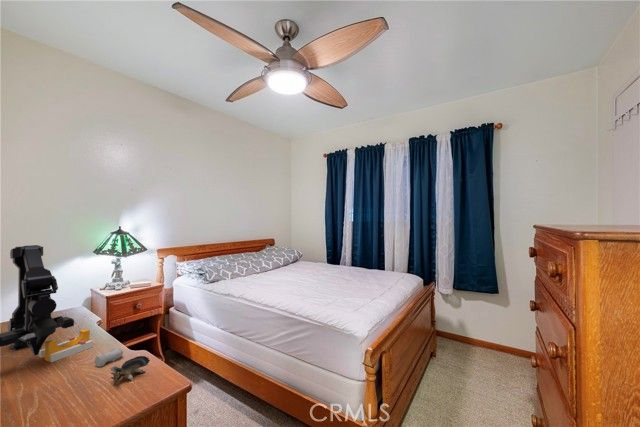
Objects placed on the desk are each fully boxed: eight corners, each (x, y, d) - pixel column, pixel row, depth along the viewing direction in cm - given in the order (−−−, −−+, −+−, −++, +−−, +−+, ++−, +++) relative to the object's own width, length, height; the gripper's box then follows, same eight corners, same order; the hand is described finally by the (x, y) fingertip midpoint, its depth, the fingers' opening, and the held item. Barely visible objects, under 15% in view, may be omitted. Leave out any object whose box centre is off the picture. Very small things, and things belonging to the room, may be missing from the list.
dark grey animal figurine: (124, 387, 76) (154, 366, 84) (112, 365, 77) (143, 346, 85) (114, 393, 80) (144, 372, 88) (103, 372, 80) (134, 354, 88)
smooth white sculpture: (117, 358, 96) (125, 357, 94) (91, 369, 89) (99, 368, 87) (116, 346, 97) (124, 345, 95) (90, 356, 90) (98, 354, 88)
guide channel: (38, 356, 95) (39, 347, 95) (79, 342, 106) (79, 334, 106) (52, 362, 91) (52, 352, 91) (92, 347, 102) (93, 338, 102)
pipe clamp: (82, 344, 104) (83, 328, 105) (89, 346, 103) (89, 330, 103) (42, 359, 93) (42, 341, 93) (48, 361, 92) (49, 343, 92)
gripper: (7, 323, 80) (5, 374, 79) (82, 305, 97) (81, 347, 96) (-8, 317, 84) (-10, 366, 84) (67, 301, 101) (65, 341, 101)
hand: (35, 354), depth 91 cm, fingers closed
